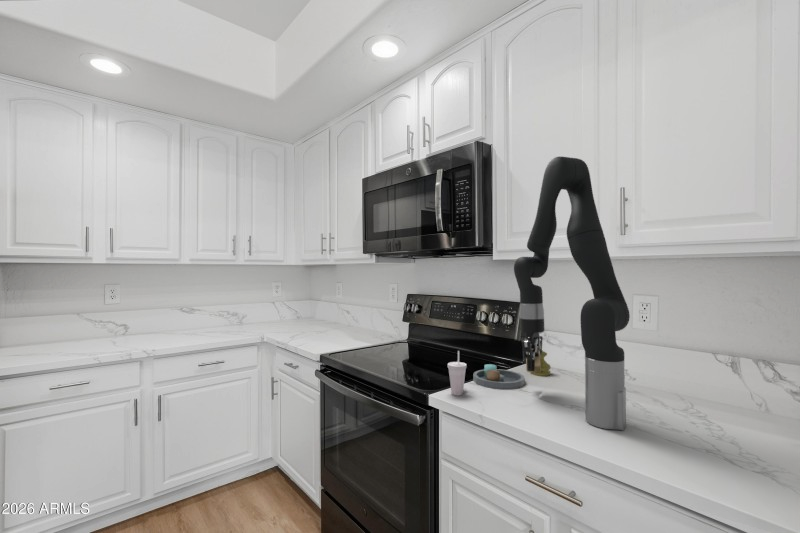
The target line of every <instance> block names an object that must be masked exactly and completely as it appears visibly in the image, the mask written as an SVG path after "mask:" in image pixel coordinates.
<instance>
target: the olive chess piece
mask: <svg viewBox="0 0 800 533" xmlns="http://www.w3.org/2000/svg"><path fill="white" fill-rule="evenodd" d="M547 355H548V353H547V352H546V351H544V350H543V349H542V354H540V365H541V372H539V373H531V372H529V373H530V375H533V376H537V377H549V376H551V372H552V371H551V366H552V365H551V364H549V363H548V362H547V361H546V360H545V357H546V356H547Z"/></svg>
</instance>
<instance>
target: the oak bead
mask: <svg viewBox="0 0 800 533" xmlns="http://www.w3.org/2000/svg"><path fill="white" fill-rule="evenodd" d="M525 360H526V361H525V364H526V365H525V366H526V369H525V370H526V372H528V373H530V372H531V373H539V372H541V365H540V357H536V356H535V359H534V360H535V371H528V370H527V359H526V358H525ZM531 373H530V374H531Z"/></svg>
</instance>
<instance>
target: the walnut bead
mask: <svg viewBox="0 0 800 533" xmlns="http://www.w3.org/2000/svg"><path fill="white" fill-rule="evenodd" d="M487 380H490V381H496V382H500V372H499V371H497V370H488V371H487Z"/></svg>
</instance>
